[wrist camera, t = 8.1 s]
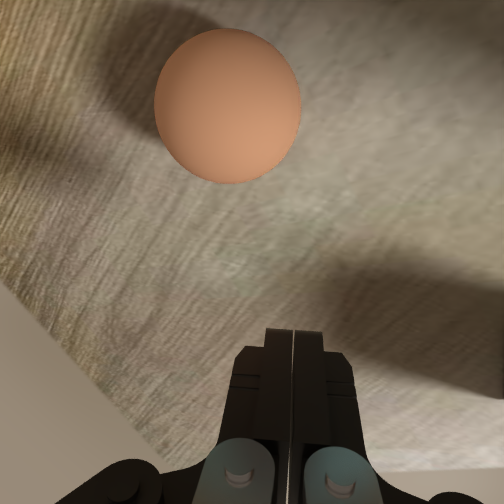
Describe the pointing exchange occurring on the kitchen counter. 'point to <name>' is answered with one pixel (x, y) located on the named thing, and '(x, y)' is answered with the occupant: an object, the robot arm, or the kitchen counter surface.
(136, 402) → the kitchen counter surface
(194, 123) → the orange sphere
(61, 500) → the robot arm
